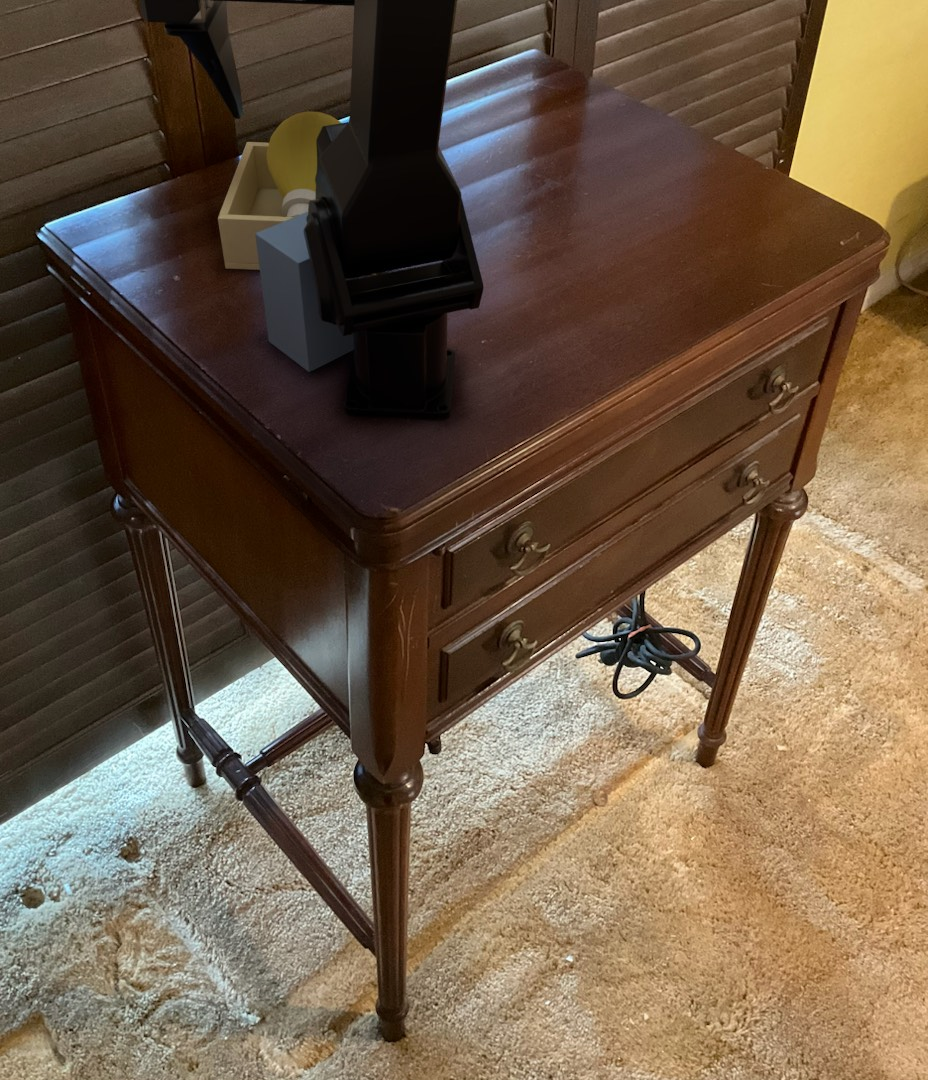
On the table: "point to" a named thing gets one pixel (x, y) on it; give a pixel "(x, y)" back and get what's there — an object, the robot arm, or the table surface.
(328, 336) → the blue block
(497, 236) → the table surface
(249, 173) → the cream bin
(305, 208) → the light bulb
